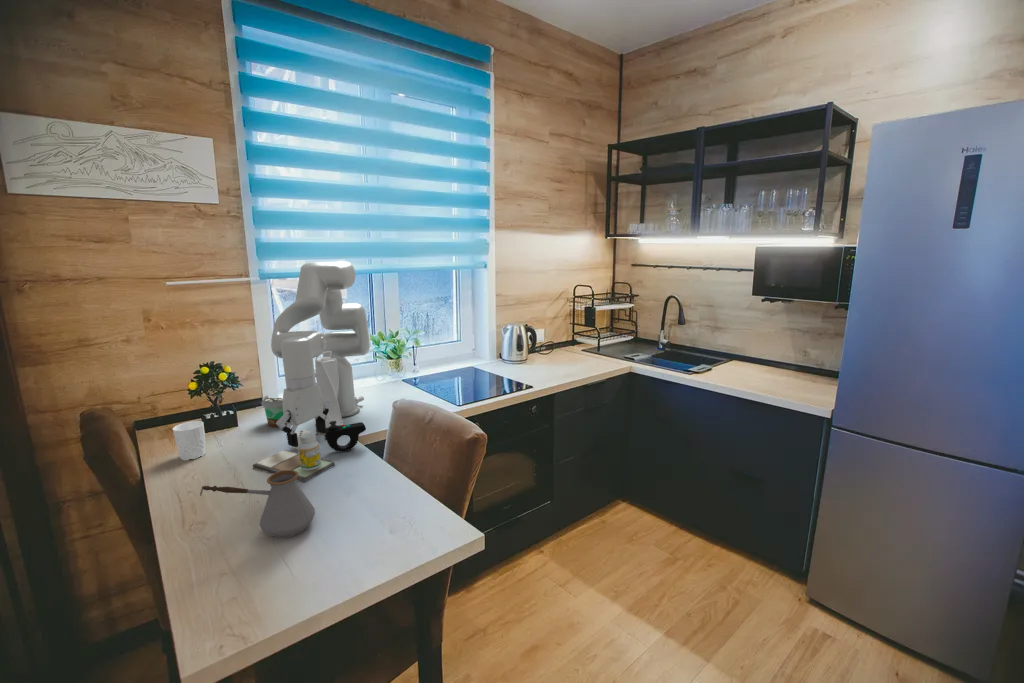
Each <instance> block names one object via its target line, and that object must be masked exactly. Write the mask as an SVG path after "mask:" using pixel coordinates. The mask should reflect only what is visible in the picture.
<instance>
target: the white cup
mask: <svg viewBox="0 0 1024 683" xmlns="http://www.w3.org/2000/svg"><path fill="white" fill-rule="evenodd" d="M172 433H173V436H174V441H175V446H176V448H177V451H178V455H179V459H180V460H181V459H183V460H182V461H190V460H189V459H194V458H197V457H200V456H202V455H204V454H205V453H206V454H207V449H206V444H207V443H206V433H205V426H204V421H201V420H200V421H199V420H194V421H192V420H191V421H188V422H183V423H180V424H177V425H175V426H173V427H172ZM206 454H205V455H206ZM205 455H204V456H205ZM202 457H203V456H202ZM200 458H201V457H200ZM197 459H198V458H197ZM194 460H195V459H194Z"/></svg>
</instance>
